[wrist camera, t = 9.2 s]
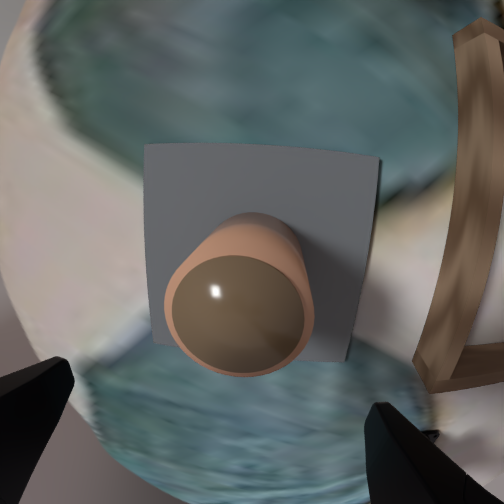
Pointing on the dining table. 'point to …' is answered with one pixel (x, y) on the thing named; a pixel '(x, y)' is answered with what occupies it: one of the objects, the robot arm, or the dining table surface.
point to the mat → (271, 203)
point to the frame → (469, 220)
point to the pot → (242, 298)
